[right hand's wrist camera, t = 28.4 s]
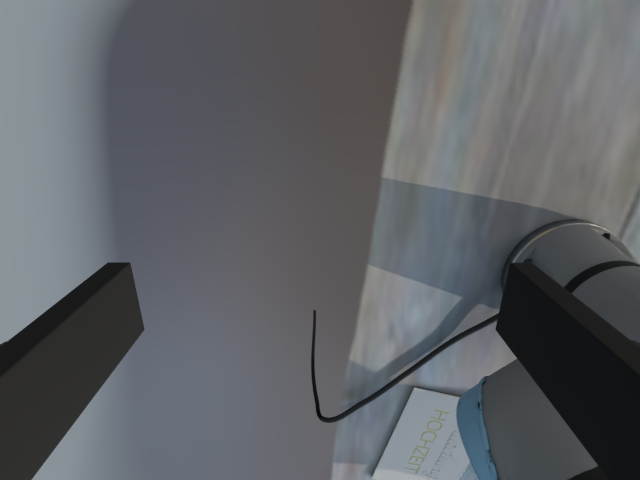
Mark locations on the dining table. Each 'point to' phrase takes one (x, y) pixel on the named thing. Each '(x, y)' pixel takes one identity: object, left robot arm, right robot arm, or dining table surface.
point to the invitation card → (424, 441)
